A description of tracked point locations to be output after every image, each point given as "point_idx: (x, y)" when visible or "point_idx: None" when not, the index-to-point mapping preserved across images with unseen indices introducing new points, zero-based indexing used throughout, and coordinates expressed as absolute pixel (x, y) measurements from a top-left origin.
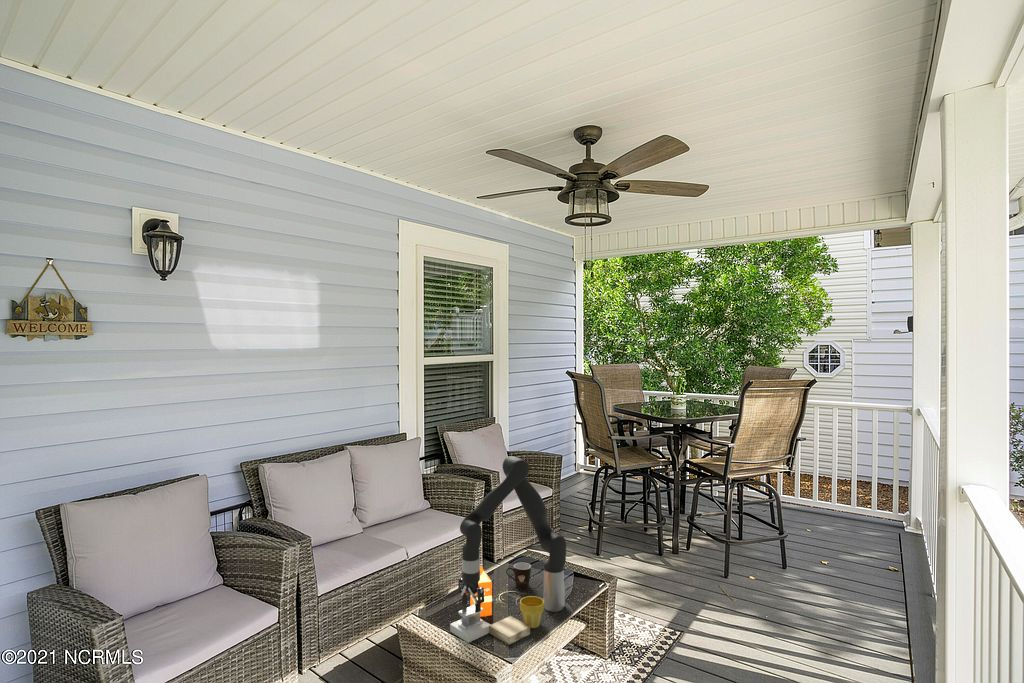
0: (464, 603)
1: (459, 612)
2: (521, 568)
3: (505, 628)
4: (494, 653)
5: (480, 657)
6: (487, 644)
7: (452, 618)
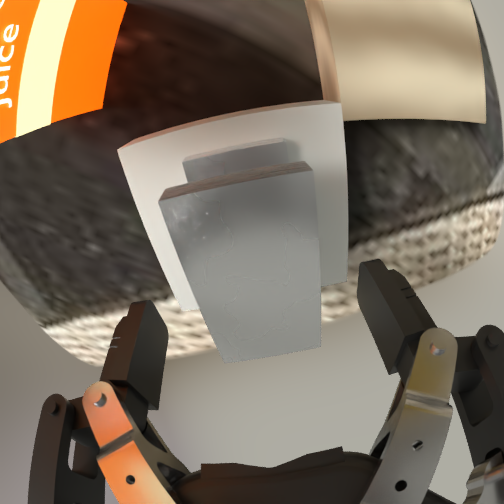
0: (159, 333)
1: (237, 357)
2: None
3: (428, 66)
4: (457, 204)
5: (435, 258)
6: (403, 189)
7: (72, 230)
